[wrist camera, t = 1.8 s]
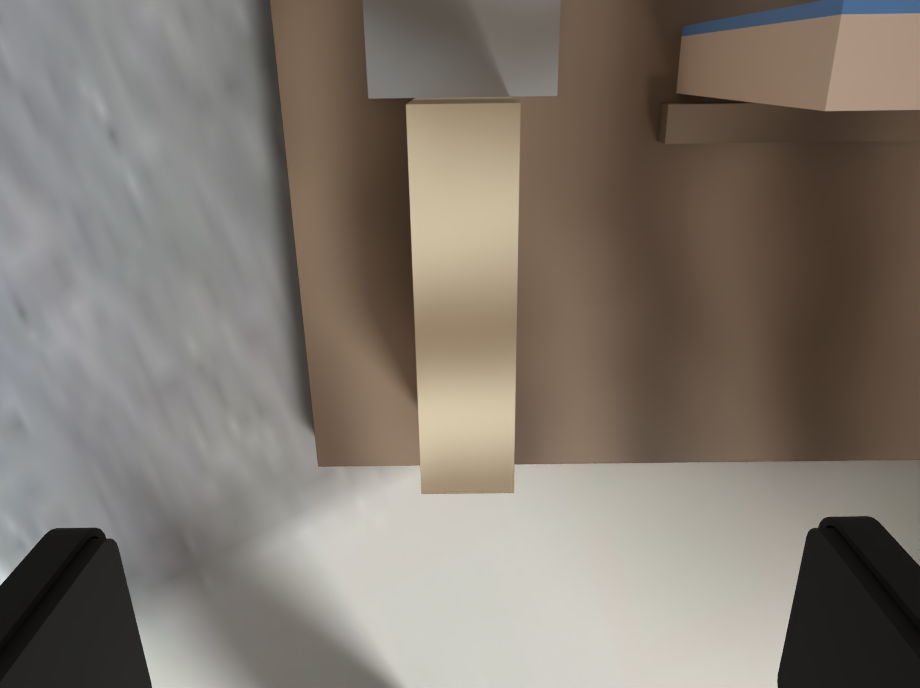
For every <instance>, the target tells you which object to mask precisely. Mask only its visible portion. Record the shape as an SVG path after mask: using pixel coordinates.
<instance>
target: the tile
mask: <svg viewBox="0 0 920 688" xmlns="http://www.w3.org/2000/svg"><path fill="white" fill-rule="evenodd" d="M676 93H679V94H687V95H695V96H704V97H712V98H720V99H728V100H737V101H745V102H753V103H761V104H770V105H778V106H786V107H794V108H803V109H811V110H819V111H873V110H920V0H822V1H817V2H811V3H806V4H800V5H795V6H790V7H784V8H779V9H773V10H768V11H762V12H757V13H751V14H746V15H741V16H735V17H730V18H724V19H719V20H713V21H708V22H703V23H697V24H692V25H686V26H683V27H682V37H681V48H680V58H679V69H678V79H677V90H676Z"/></svg>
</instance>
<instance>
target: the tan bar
mask: <svg viewBox="0 0 920 688" xmlns="http://www.w3.org/2000/svg"><path fill="white" fill-rule="evenodd" d="M560 5H561V0H363V17H364V34H365V51H366V67H367V84H368V99H377V98H415V99H413V100H412V101H410V102H409V103H407V104H406V120H407V145H408V170H409V195H410V220H411V244H412V269H413V294H414V319H415V344H416V369H417V394H418V418H419V443H420V468H421V493H422V494H464V493H514V449H515V392H516V335H517V279H518V222H519V165H520V109H521V103H520V102H518V101H517V100H515V99H513V98H511V97H515V96H557V88H558V60H559V32H560Z"/></svg>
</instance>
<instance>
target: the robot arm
mask: <svg viewBox="0 0 920 688" xmlns="http://www.w3.org/2000/svg"><path fill="white" fill-rule="evenodd" d="M777 681H778V688H920V566H919V565H918V564H917V563H916V562H915V561H914V560H913V558H912V557H911V556H910V555H909V554H908V553H907V552H906V551H905V550H904V549H903V548H902V547H901V545H900V544H899V543H898V542H897V541H896V540H895V539H894V538H893V537H892V536H891V535H890V534H889V532H888V531H887V530H886V529H885V528H884V527H883V526H882V525H881V524H880V523H879V522H878V521H877V520H876V519H874V518H872V517H868V516H858V517H827V518H824V519H823V520H822V521H821V522H820V524H819V527H818V528H813V529H811V530H810V531H809V532H808V534H807V537H806V542H805V547H804V551H803V556H802V561H801V566H800V571H799V576H798V580H797V585H796V590H795V595H794V600H793V604H792V609H791V614H790V619H789V624H788V629H787V633H786V638H785V643H784V648H783V653H782V658H781V662H780V667H779V672H778V679H777ZM0 688H152V685H151V680H150V676H149V672H148V668H147V664H146V660H145V656H144V651H143V647H142V643H141V639H140V635H139V631H138V627H137V623H136V619H135V614H134V610H133V606H132V602H131V598H130V594H129V590H128V586H127V582H126V577H125V573H124V569H123V565H122V561H121V557H120V553H119V549H118V546H117V543H116V542H115V541H114V540H113V539H106V537H105V534H104V533H103V531H102V530H101V529H98V528H56V529H53V530H50V531H49V532H48V533H47V534H45V535H44V537H43V538H42V539H41V540H40V541H39V542H38V543H37V544H36V546H35V547H34V548H33V549H32V550H31V551H30V552H29V554H28V555H27V556H26V557H25V558H24V559H23V560H22V562H21V563H20V564H19V565H18V566H17V567H16V568H15V570H14V571H13V572H12V573H11V574H10V575H9V576H8V578H7V579H6V580H5V581H4V582H3V583H2V584H1V586H0Z"/></svg>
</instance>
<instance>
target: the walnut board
mask: <svg viewBox="0 0 920 688" xmlns="http://www.w3.org/2000/svg"><path fill="white" fill-rule="evenodd" d="M817 1H822V0H561V5H560V32H559V60H558V88H557V96H515V97H511V98H513V99H515V100H517V101H518V102H520V103H521V109H520V165H519V222H518V279H517V335H516V392H515V449H514V464H585V463H671V462H758V461H845V460H920V110H873V111H819V110H811V109H803V108H794V107H786V106H778V105H770V104H761V103H753V102H745V101H737V100H728V99H720V98H712V97H704V96H695V95H687V94H679V93H676V90H677V79H678V69H679V58H680V48H681V37H682V27H683V26H686V25H692V24H697V23H703V22H708V21H713V20H719V19H724V18H730V17H735V16H741V15H746V14H751V13H757V12H762V11H768V10H773V9H779V8H784V7H790V6H795V5H800V4H806V3H811V2H817ZM270 5H271V15H272V25H273V34H274V44H275V54H276V63H277V73H278V83H279V92H280V102H281V112H282V121H283V131H284V141H285V151H286V160H287V170H288V180H289V189H290V199H291V209H292V218H293V228H294V238H295V247H296V257H297V267H298V276H299V286H300V296H301V305H302V315H303V325H304V334H305V344H306V354H307V363H308V373H309V383H310V392H311V402H312V412H313V421H314V431H315V441H316V450H317V460H318V467H325V466H411V465H420V443H419V418H418V394H417V369H416V344H415V319H414V294H413V269H412V244H411V220H410V195H409V170H408V145H407V120H406V104H407V103H409V102H410V101H412V100H413V99H415V98H377V99H368V84H367V67H366V51H365V34H364V17H363V0H270Z"/></svg>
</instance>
